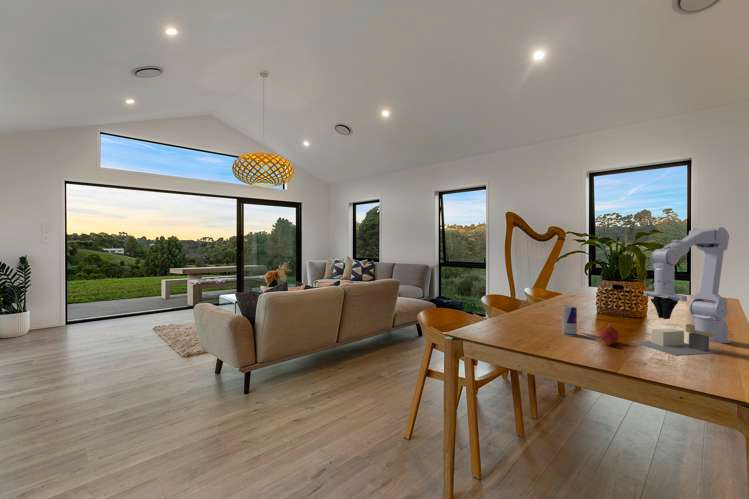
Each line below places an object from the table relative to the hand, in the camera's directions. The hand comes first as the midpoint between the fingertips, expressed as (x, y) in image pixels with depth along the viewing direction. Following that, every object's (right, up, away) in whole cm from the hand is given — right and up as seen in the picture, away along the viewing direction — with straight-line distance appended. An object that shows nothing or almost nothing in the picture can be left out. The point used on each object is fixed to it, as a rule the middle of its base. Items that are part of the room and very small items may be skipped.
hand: (664, 318), depth 129 cm
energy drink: (-26, -11, +17) cm, 33 cm away
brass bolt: (+6, -4, -7) cm, 11 cm away
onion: (-19, -11, +2) cm, 22 cm away
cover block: (+1, -9, 0) cm, 10 cm away
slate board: (0, -10, -3) cm, 11 cm away
